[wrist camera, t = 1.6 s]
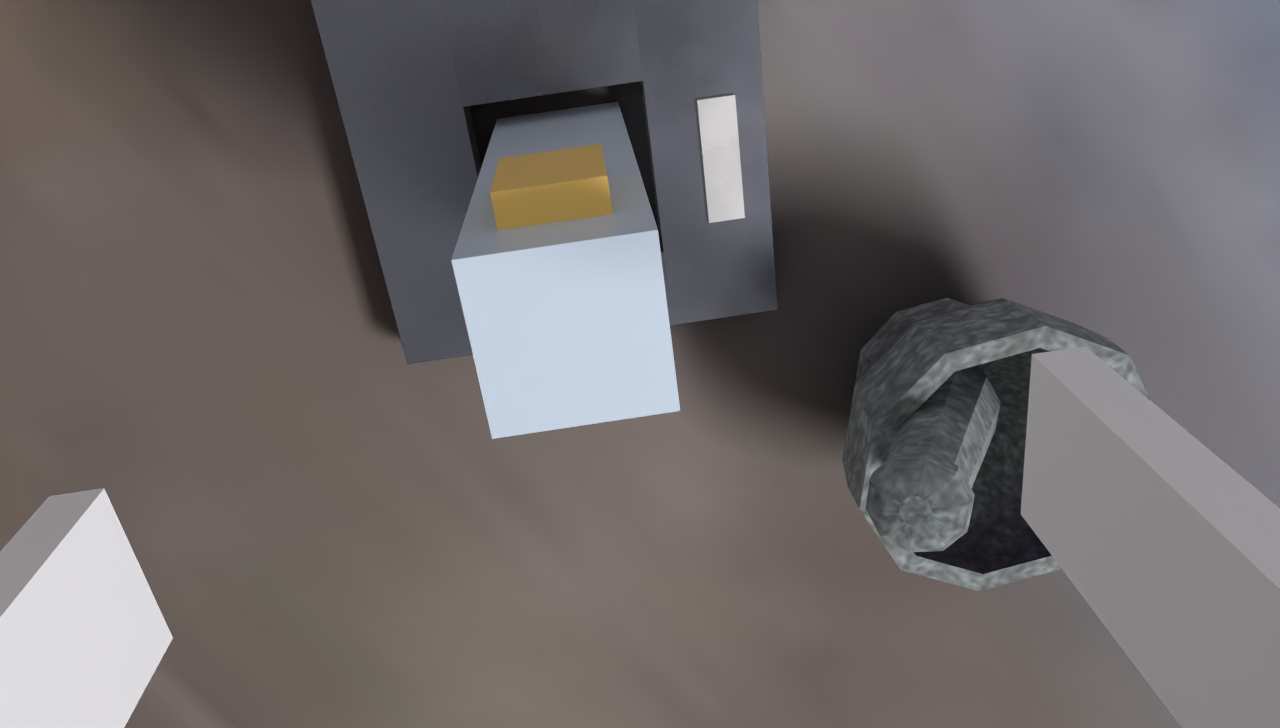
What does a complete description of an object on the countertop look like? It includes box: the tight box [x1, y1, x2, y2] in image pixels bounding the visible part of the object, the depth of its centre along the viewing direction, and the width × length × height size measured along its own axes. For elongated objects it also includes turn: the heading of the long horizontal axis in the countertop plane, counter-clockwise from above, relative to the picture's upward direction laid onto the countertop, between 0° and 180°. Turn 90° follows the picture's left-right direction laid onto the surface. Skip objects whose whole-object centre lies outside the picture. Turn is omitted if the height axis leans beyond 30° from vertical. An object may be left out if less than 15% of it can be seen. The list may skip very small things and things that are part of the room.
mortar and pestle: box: [843, 298, 1150, 591], centre depth 30 cm, size 11×9×12 cm
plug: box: [451, 102, 680, 439], centre depth 25 cm, size 4×5×14 cm
